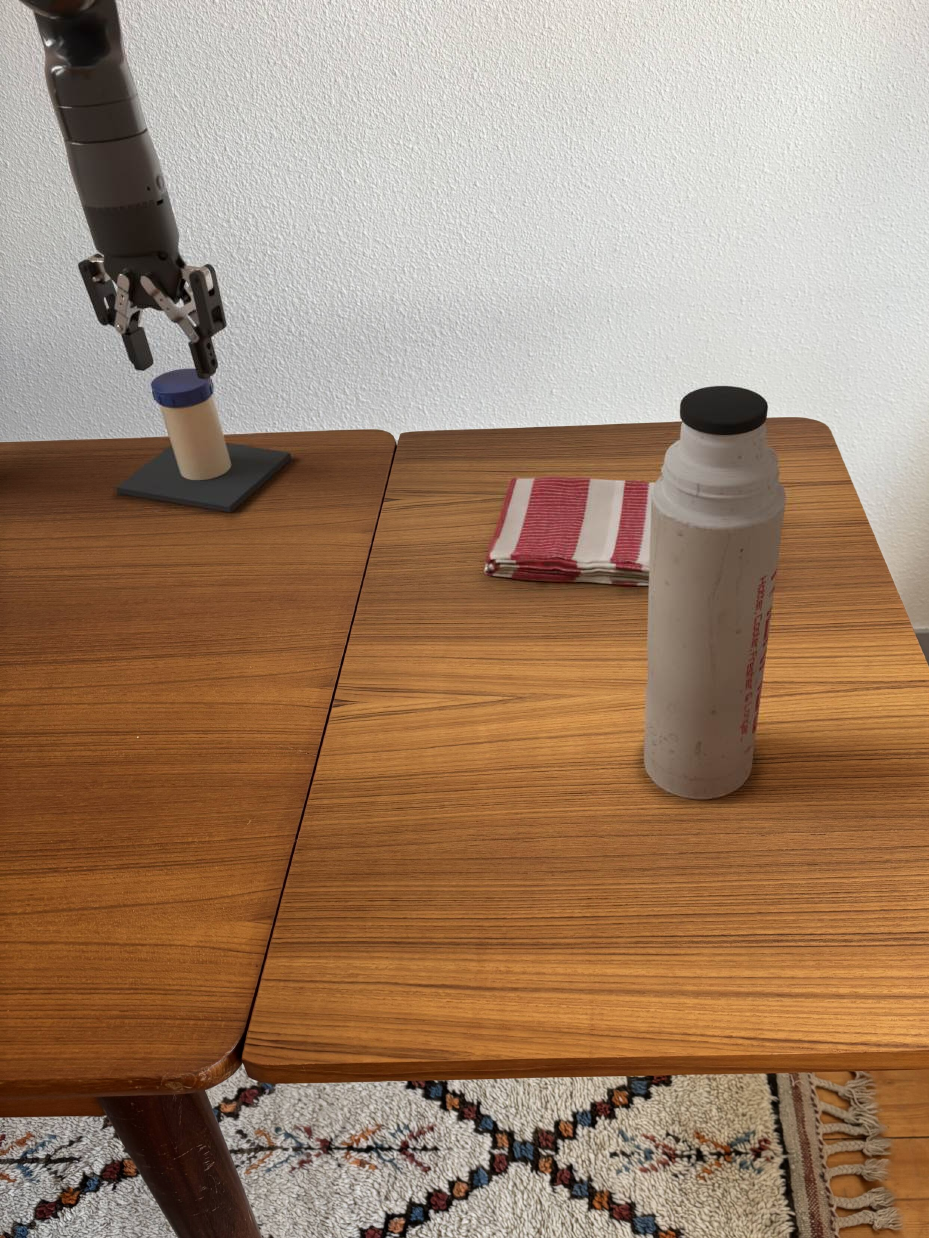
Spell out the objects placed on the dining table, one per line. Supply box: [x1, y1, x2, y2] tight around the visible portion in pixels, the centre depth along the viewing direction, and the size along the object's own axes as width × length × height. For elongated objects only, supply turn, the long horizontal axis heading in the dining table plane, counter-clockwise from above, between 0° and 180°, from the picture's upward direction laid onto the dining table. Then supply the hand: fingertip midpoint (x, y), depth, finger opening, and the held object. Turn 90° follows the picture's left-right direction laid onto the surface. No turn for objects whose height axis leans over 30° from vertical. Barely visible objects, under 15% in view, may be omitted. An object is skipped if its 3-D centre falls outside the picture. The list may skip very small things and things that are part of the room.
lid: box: [150, 368, 215, 407], centre depth 106 cm, size 6×6×2 cm
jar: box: [158, 393, 231, 480], centre depth 109 cm, size 5×5×9 cm
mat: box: [115, 442, 292, 514], centre depth 112 cm, size 14×12×1 cm
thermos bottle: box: [643, 385, 787, 800], centre depth 68 cm, size 8×8×28 cm
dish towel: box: [483, 476, 655, 587], centre depth 100 cm, size 17×23×3 cm
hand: (176, 371), depth 104 cm, fingers open, 7 cm apart
